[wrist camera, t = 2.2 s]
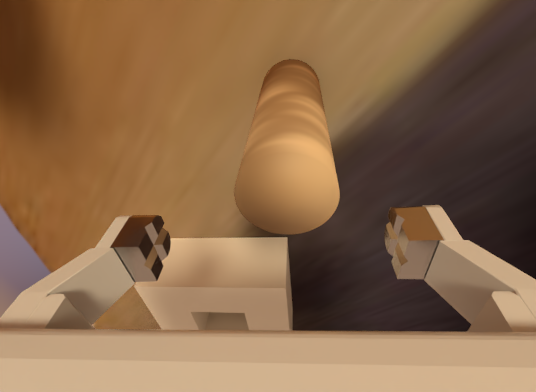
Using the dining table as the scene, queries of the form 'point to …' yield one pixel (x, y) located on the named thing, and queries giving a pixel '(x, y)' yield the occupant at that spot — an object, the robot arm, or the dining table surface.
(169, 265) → the socket block
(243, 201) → the peg
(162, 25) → the dining table surface
